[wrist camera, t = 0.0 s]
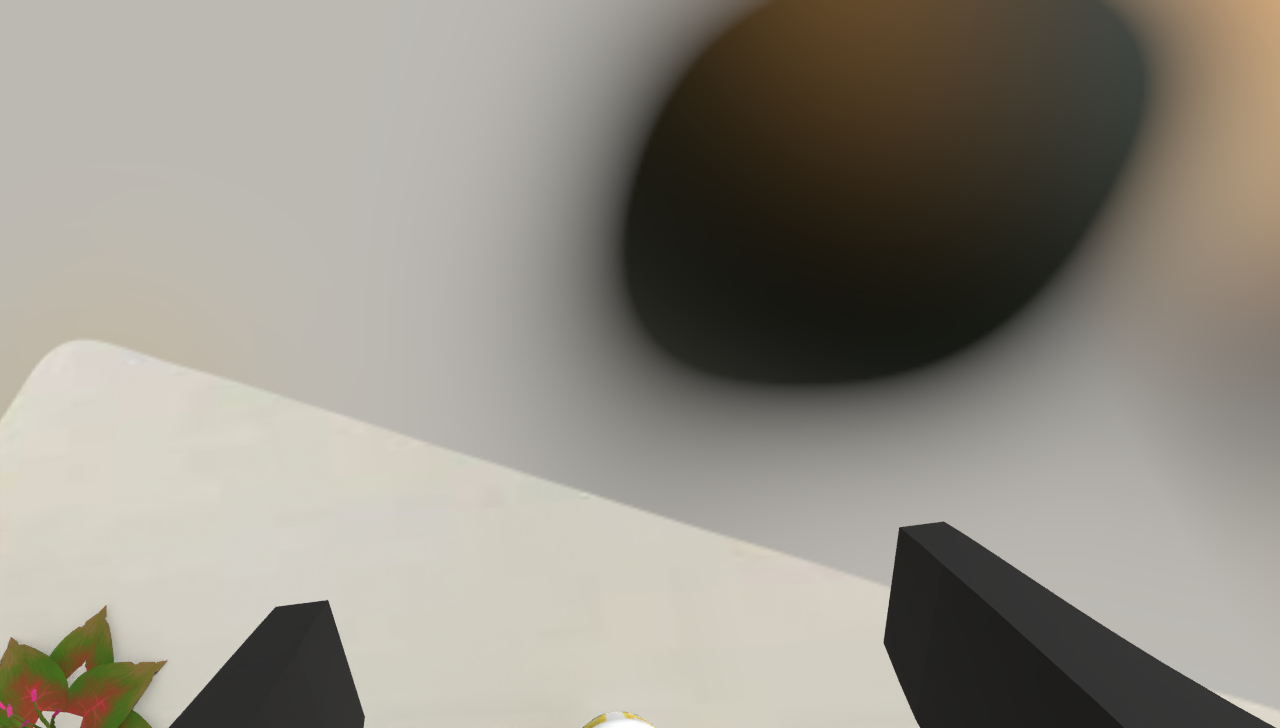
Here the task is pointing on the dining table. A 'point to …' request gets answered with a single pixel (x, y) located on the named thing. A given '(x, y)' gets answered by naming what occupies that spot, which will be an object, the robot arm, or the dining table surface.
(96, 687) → the lily flower
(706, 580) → the dining table surface
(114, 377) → the dining table surface
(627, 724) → the supplement bottle
